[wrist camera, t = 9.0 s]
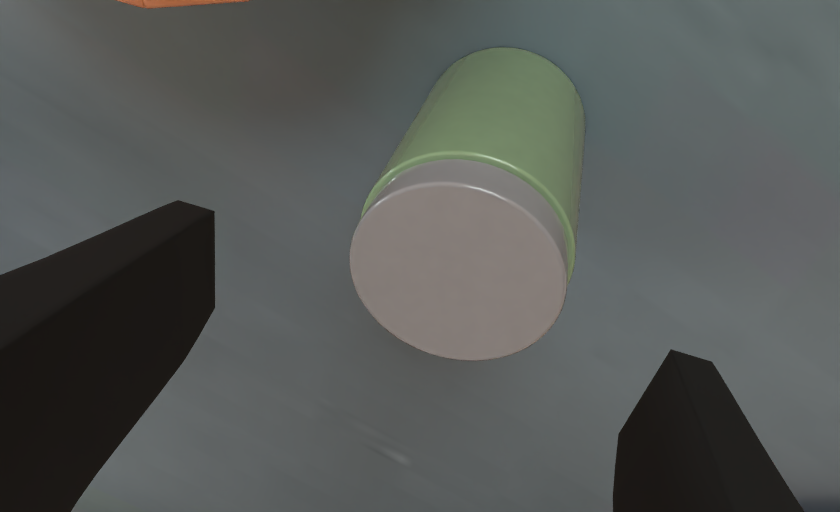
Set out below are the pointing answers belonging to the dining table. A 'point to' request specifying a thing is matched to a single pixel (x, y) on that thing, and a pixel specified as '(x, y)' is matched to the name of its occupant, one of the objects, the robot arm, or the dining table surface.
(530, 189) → the cylinder
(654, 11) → the dining table surface
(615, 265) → the dining table surface
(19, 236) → the dining table surface
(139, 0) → the basin
